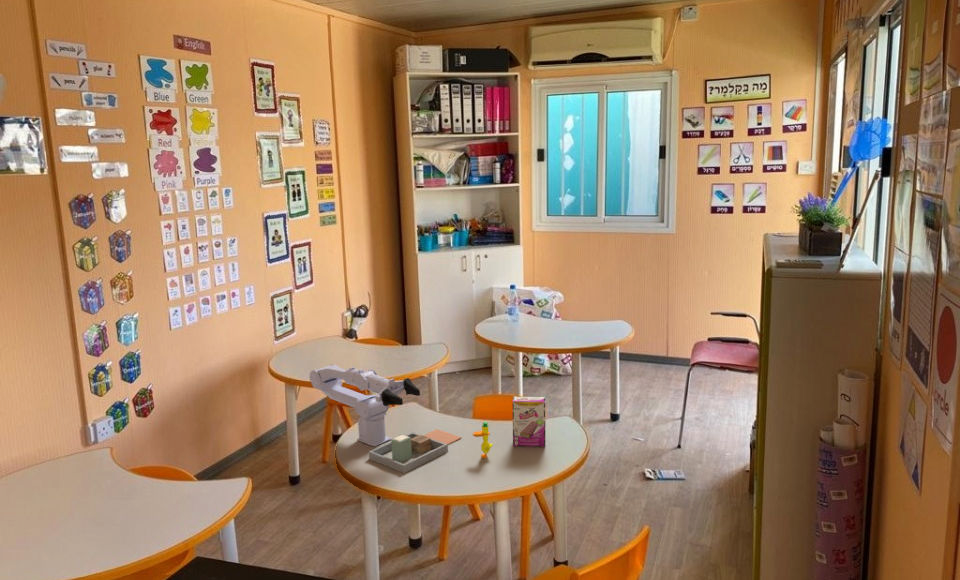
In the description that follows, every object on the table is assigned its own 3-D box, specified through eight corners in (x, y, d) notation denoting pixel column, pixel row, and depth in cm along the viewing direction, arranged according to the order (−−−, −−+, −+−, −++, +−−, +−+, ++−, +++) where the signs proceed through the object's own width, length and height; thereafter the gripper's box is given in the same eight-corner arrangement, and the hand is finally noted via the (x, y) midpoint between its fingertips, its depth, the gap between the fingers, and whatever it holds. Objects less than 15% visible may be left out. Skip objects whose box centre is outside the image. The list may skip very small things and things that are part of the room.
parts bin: (369, 458, 229) (368, 451, 229) (413, 438, 244) (412, 432, 244) (404, 473, 218) (403, 465, 218) (447, 451, 233) (447, 444, 233)
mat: (419, 438, 244) (419, 437, 244) (436, 430, 251) (436, 429, 251) (443, 447, 236) (443, 445, 236) (461, 438, 243) (461, 437, 243)
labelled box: (392, 459, 228) (391, 438, 227) (403, 454, 232) (402, 433, 231) (400, 462, 226) (399, 442, 224) (411, 457, 230) (410, 436, 228)
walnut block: (410, 450, 235) (409, 439, 234) (420, 445, 239) (420, 434, 238) (420, 454, 232) (419, 443, 231) (431, 449, 236) (430, 438, 235)
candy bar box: (512, 447, 235) (511, 401, 231) (513, 440, 240) (512, 395, 236) (546, 447, 234) (545, 401, 230) (546, 441, 238) (545, 396, 235)
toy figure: (474, 460, 226) (473, 425, 223) (472, 455, 229) (471, 421, 227) (494, 458, 227) (493, 423, 224) (492, 453, 230) (491, 419, 228)
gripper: (365, 384, 229) (392, 394, 220) (398, 368, 239) (425, 377, 230) (367, 403, 231) (394, 414, 222) (400, 386, 241) (427, 396, 232)
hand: (410, 397), depth 226 cm, fingers open, 7 cm apart
